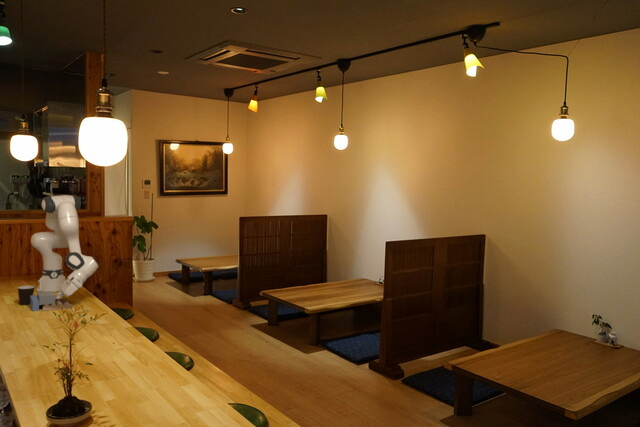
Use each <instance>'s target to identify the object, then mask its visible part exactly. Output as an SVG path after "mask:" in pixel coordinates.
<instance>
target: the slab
mask: <svg viewBox="0 0 640 427" xmlns="http://www.w3.org/2000/svg"><path fill="white" fill-rule="evenodd" d="M36 296H37V298H38V299H39V306H42V305H45V304H55V299H56V294H55V293H54V292H53V291H44V292H43V291H36Z"/></svg>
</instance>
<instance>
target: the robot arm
mask: <svg viewBox="0 0 640 427" xmlns="http://www.w3.org/2000/svg"><path fill="white" fill-rule="evenodd" d="M81 203H82V202H81V199H80V197H79V196H78V195H74V194H72V195H69V194H61V195H48V196H45V197H43V199H42V201H41V208H42V210H43V212H44V213H46V215H45V226H46V227H47V228H48V229H50V230H51V231H41V232H35V233H34V234H32V235H31V238H30V243H31V246H32V247H33V248H35V249H36V250H37V251H38V252H39V253H40V254H41V256H42V263H43V265H42V266H43V269H42V272H41V273H42V275H41V277H40V279H38V280H37V281H38V282H37V283H38V285H37V287H36V289H35V290H36V292H44V291H53V293H54V292H58V293H57V294H55V299H56V298H57V299H60V298H63V296H66V298H68V297H71V296H72V295H73V294H74V293H75V292H76V291H77V290H79V289H81V288H82V287H83V284H84V283H86V281H87V279H88V278H90V277H91V276H92V275H93V274H94V273H95V272H97V270H98V269H99V263H98V261H97V260H96V259H95V258H94V256H88V255H84V254H82V253H83V252H82V248H81V244H80V238H79V237H80V236H79V234H80V230H79V228H80V223H79V215H78V212H77V211H80V208H81V205H82V204H81ZM65 248H68V249H69V253H68V254H66V255H65V257H64V258H65V259H64V263H65V265H66V266H67V267H68V268H69V269H70V270H71V271H72V272H71V273H70V274H69V275H68V276H67V279H66V276H65V275H64V274H63V273H64V268H63V257H62V256H61V254H59V253H57V252H54V251H53V249H65Z"/></svg>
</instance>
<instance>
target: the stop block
mask: <svg viewBox="0 0 640 427" xmlns="http://www.w3.org/2000/svg"><path fill="white" fill-rule="evenodd" d="M29 307H30V309H31V311H32V312H40V305H39V299H38V298H37V294H33V296H30V305H29Z"/></svg>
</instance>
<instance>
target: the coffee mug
mask: <svg viewBox="0 0 640 427" xmlns="http://www.w3.org/2000/svg"><path fill="white" fill-rule="evenodd" d="M34 292H35V286H34V285H23V286H22V285H21V286H18V287H17V295H18V301H19V306H30V296H33V295H35V294H34Z"/></svg>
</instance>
